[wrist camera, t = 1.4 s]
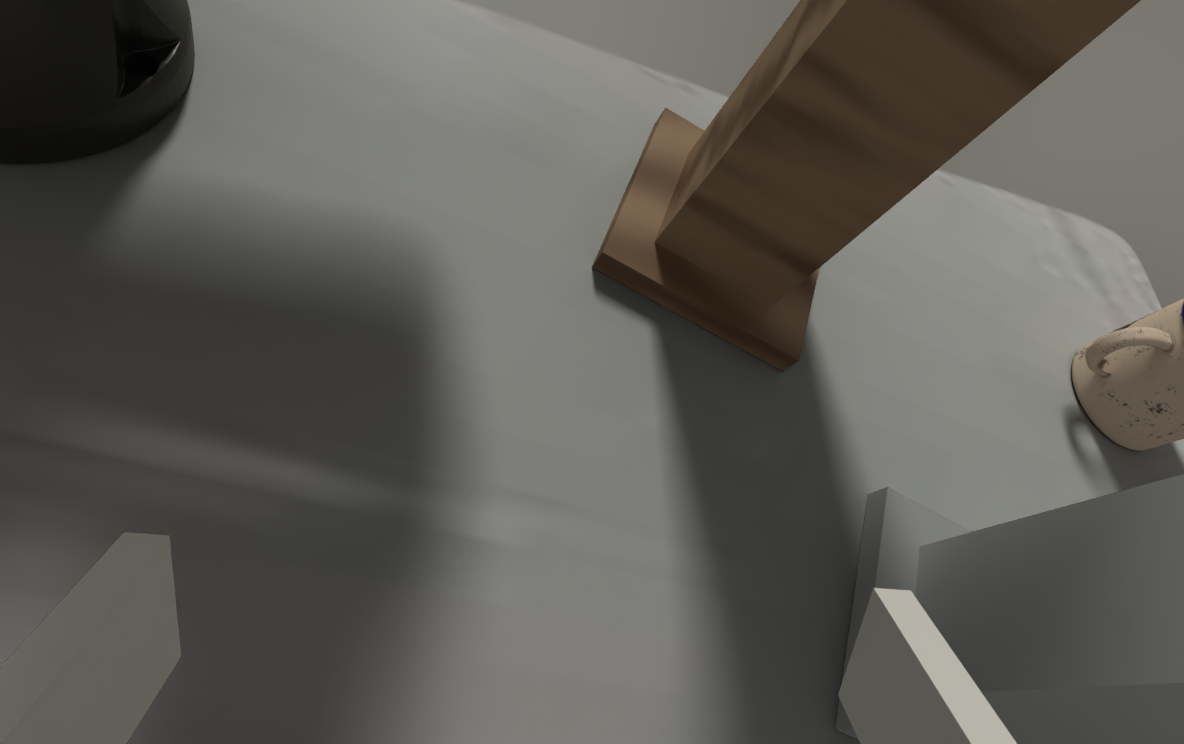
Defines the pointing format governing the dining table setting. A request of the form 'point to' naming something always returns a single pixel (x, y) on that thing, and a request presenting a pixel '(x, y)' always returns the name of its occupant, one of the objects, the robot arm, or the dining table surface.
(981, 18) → the walnut stand
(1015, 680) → the grey stand
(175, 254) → the dining table surface
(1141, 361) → the teacup with lid
